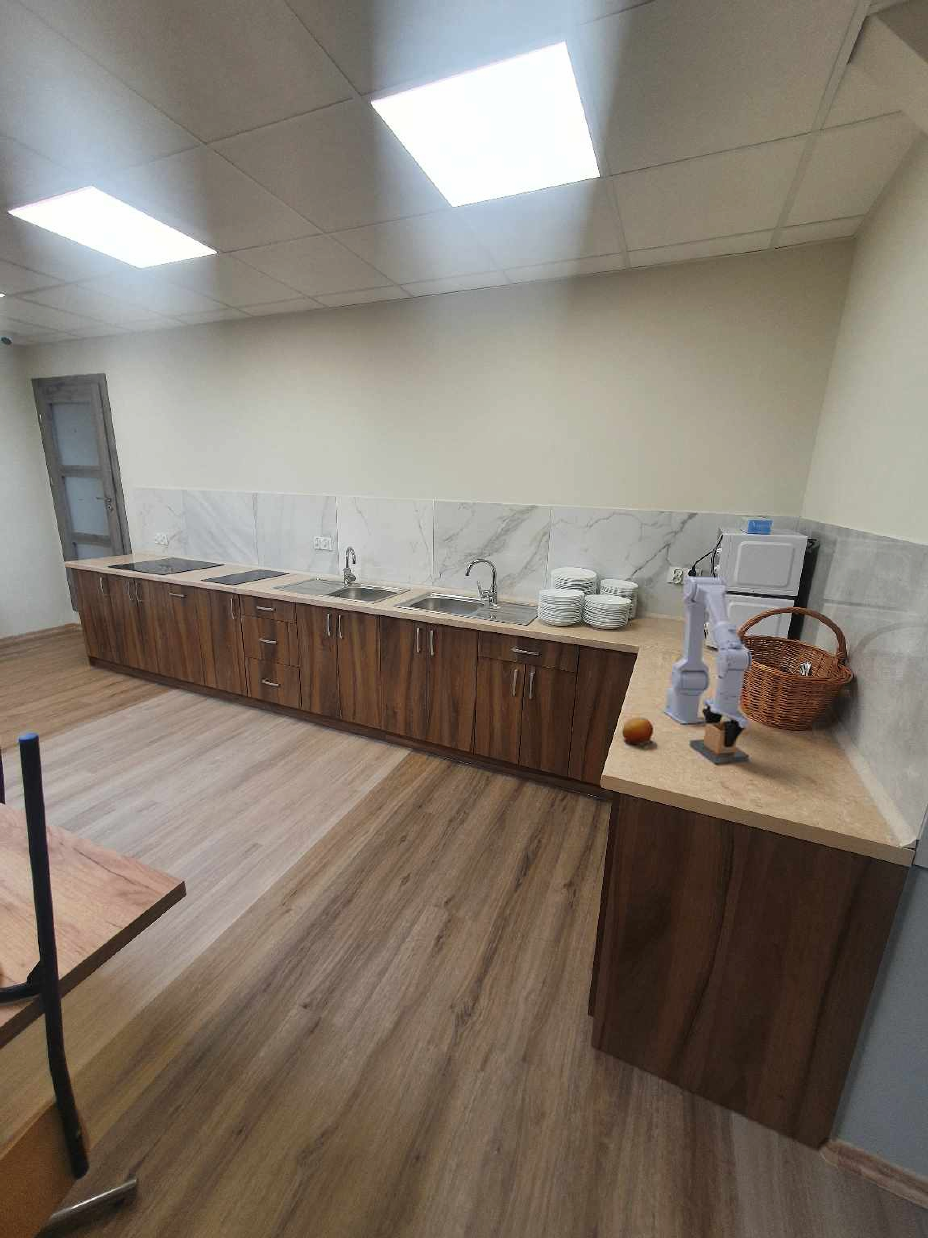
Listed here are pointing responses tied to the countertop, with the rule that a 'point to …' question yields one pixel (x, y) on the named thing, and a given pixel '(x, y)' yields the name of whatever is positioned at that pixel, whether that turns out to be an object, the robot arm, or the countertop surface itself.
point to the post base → (718, 758)
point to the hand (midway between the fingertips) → (720, 740)
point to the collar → (716, 738)
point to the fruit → (638, 731)
